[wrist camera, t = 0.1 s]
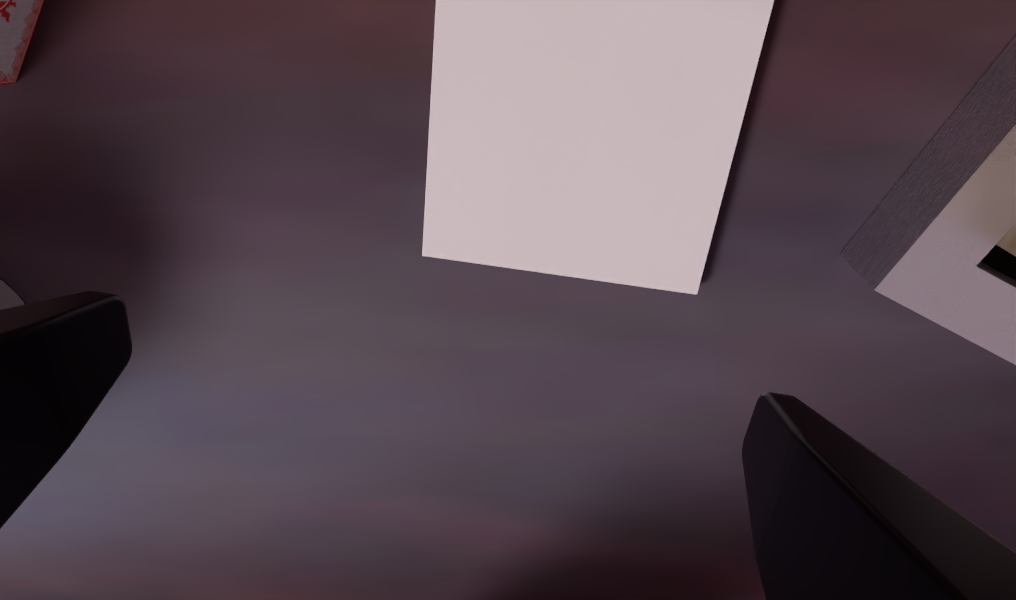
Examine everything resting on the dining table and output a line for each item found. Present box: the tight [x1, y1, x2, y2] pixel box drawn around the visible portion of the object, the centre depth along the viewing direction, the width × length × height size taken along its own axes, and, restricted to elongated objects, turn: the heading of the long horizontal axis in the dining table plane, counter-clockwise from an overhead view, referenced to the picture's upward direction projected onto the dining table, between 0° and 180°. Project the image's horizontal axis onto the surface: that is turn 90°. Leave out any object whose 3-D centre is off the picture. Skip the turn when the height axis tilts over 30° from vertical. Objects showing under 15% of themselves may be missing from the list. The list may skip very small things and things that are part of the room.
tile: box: [422, 0, 774, 295], centre depth 21 cm, size 14×10×1 cm
